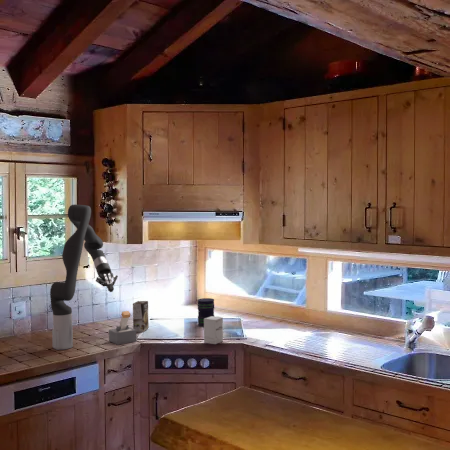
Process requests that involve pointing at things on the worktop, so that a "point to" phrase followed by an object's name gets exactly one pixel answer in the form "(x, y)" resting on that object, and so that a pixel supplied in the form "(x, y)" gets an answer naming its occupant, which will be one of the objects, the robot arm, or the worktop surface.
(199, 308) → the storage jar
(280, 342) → the worktop surface
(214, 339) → the supplement box
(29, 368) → the worktop surface
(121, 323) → the lever
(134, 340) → the block
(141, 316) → the coffee box
